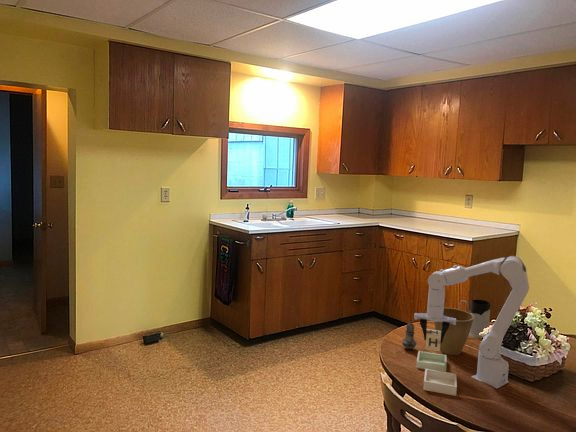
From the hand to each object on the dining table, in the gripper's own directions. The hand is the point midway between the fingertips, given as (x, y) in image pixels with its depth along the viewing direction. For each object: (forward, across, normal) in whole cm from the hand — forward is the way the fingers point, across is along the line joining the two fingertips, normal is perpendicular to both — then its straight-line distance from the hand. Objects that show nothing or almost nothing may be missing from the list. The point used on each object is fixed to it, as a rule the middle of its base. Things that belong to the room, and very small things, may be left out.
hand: (433, 340), depth 170 cm
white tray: (+10, +3, -15) cm, 18 cm away
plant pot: (+10, +7, +16) cm, 20 cm away
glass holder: (+10, +16, +43) cm, 47 cm away
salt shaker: (+10, -9, +12) cm, 18 cm away
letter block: (+3, 0, 0) cm, 3 cm away
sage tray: (+10, 0, 0) cm, 10 cm away
